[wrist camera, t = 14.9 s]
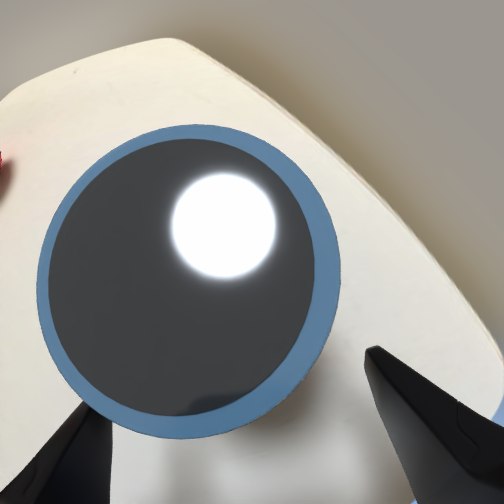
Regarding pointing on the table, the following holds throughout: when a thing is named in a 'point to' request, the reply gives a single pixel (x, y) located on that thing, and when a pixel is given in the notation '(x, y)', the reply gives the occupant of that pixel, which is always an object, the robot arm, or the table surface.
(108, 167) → the cup
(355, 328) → the table surface
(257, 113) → the table surface
